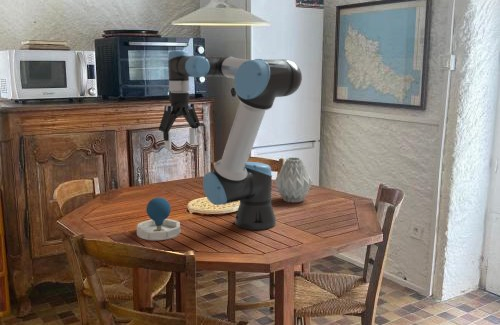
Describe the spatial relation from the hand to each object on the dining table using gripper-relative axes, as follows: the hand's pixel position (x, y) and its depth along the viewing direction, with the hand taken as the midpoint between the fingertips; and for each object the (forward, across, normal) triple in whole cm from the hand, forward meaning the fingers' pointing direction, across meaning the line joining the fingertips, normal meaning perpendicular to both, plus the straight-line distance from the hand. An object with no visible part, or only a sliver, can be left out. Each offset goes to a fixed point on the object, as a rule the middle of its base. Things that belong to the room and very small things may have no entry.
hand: (180, 146), depth 199 cm
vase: (+27, -42, +26) cm, 56 cm away
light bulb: (+26, +23, +11) cm, 36 cm away
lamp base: (+27, +23, +11) cm, 37 cm away
